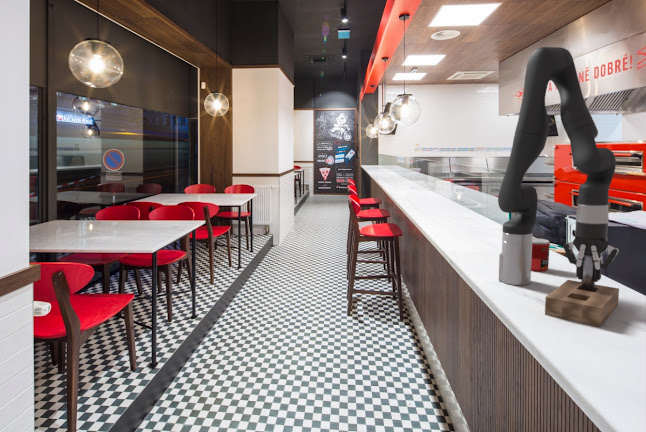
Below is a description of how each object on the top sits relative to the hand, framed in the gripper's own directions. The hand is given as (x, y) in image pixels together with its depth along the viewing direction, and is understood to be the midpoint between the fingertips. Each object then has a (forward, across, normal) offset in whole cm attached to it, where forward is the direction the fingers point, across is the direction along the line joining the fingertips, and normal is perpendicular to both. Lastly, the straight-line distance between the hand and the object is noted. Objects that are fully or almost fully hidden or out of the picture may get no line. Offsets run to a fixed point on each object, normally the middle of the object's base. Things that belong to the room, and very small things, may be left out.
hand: (588, 279), depth 119 cm
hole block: (+8, 0, -4) cm, 9 cm away
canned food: (+8, -24, +30) cm, 39 cm away
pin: (+3, 0, 0) cm, 3 cm away
